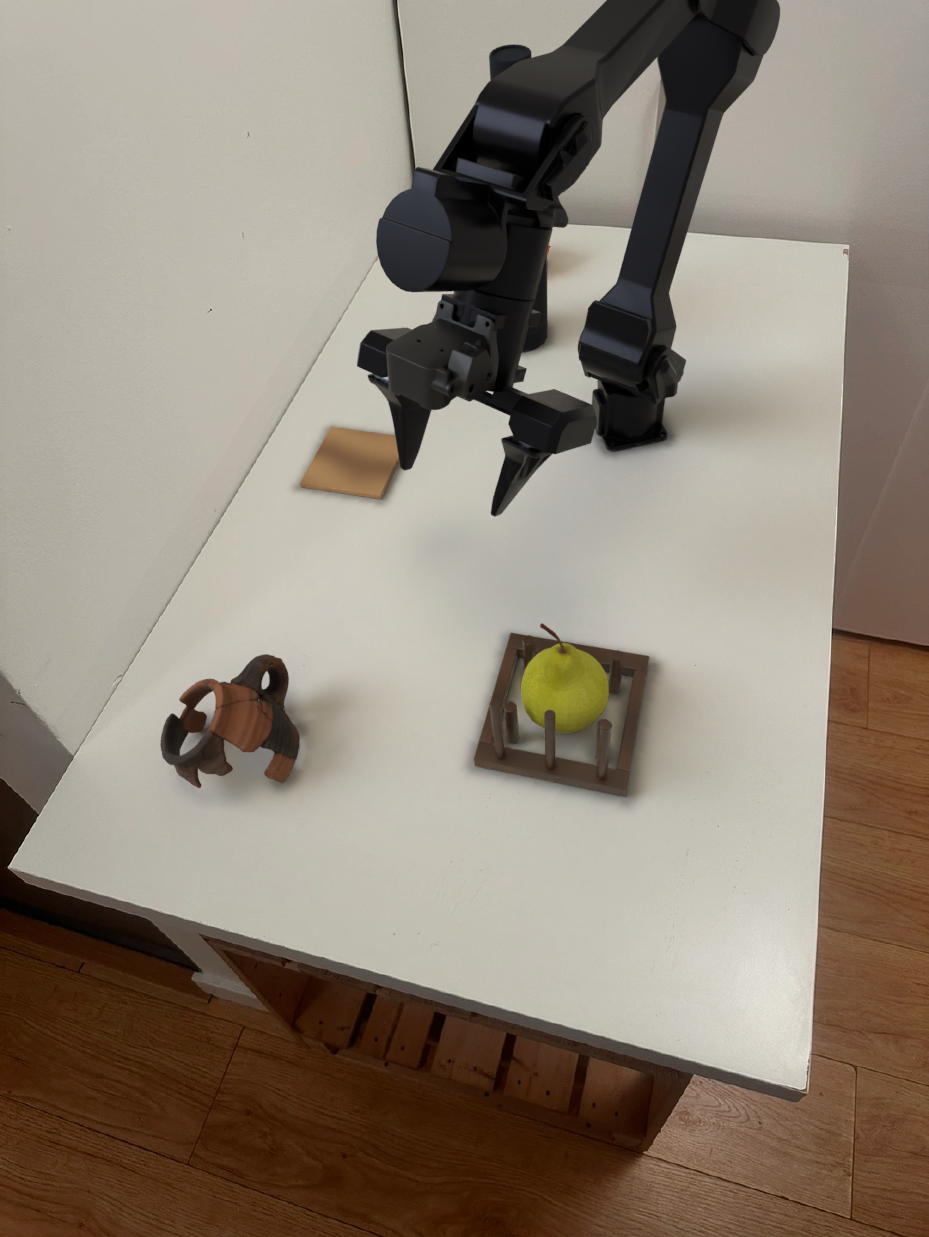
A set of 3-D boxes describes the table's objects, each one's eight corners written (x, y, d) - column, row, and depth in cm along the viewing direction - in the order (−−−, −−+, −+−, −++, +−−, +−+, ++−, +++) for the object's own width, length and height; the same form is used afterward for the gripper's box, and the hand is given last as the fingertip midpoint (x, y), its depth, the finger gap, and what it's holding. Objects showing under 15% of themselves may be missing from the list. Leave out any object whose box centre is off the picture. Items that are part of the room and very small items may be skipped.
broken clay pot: (275, 821, 68) (192, 785, 63) (213, 795, 75) (133, 760, 69) (339, 684, 72) (266, 638, 66) (275, 670, 78) (203, 628, 73)
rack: (511, 640, 76) (506, 574, 69) (648, 663, 73) (658, 598, 66) (474, 766, 69) (465, 707, 62) (625, 797, 66) (633, 740, 59)
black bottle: (557, 328, 103) (558, 43, 79) (530, 358, 100) (522, 72, 76) (511, 314, 105) (498, 34, 81) (483, 343, 102) (461, 61, 78)
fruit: (616, 690, 72) (625, 603, 63) (593, 760, 68) (599, 678, 59) (537, 669, 74) (534, 581, 64) (510, 736, 70) (503, 652, 61)
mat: (331, 430, 95) (330, 426, 95) (408, 440, 93) (408, 436, 93) (300, 487, 90) (299, 483, 90) (381, 499, 88) (380, 495, 88)
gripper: (319, 250, 59) (293, 463, 66) (545, 337, 51) (484, 568, 58) (422, 253, 67) (387, 442, 75) (629, 328, 59) (566, 531, 67)
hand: (449, 491), depth 68 cm, fingers open, 9 cm apart
